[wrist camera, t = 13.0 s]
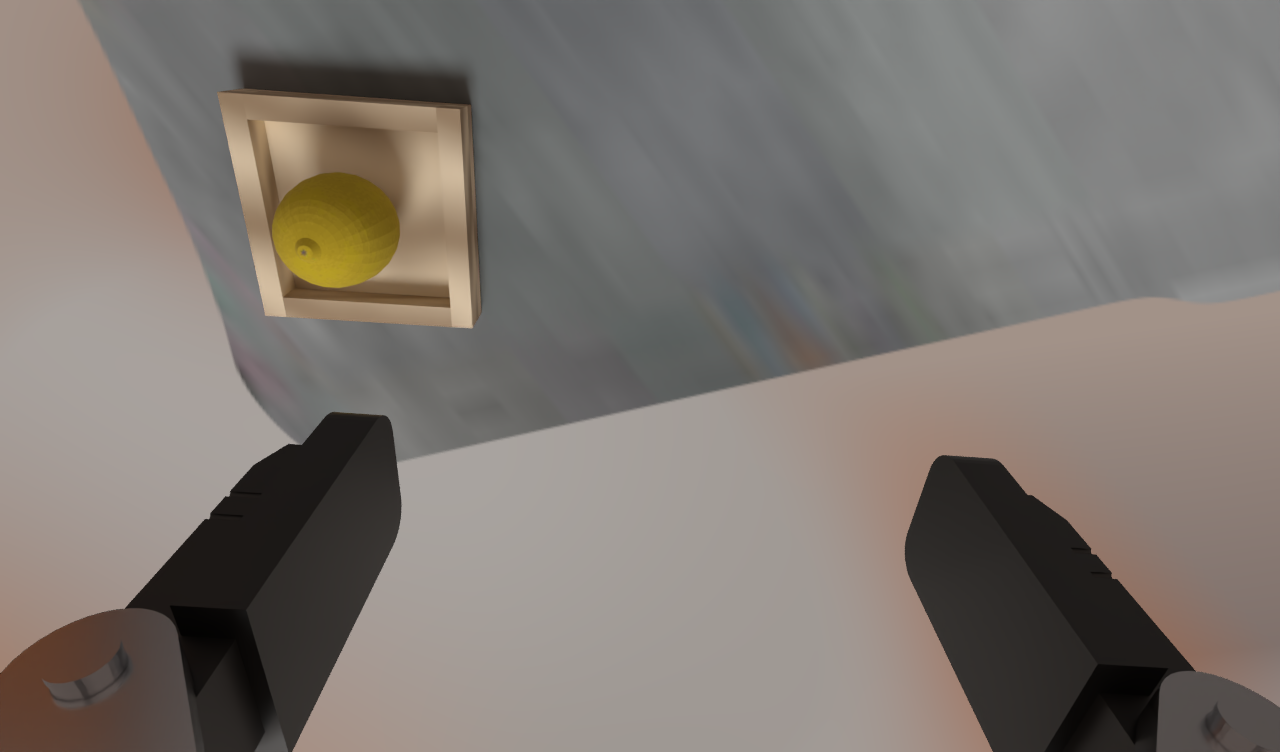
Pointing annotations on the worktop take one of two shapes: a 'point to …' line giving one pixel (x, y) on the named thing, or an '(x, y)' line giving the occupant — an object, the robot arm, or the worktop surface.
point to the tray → (393, 161)
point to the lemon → (336, 230)
